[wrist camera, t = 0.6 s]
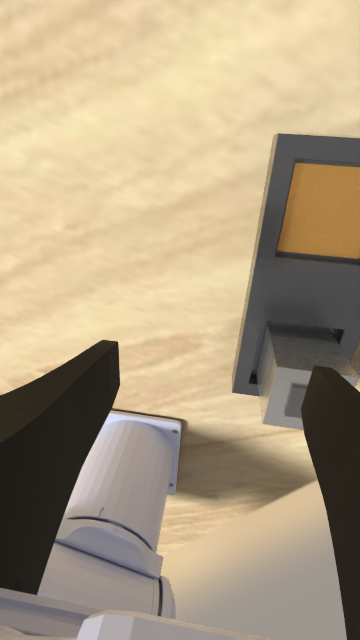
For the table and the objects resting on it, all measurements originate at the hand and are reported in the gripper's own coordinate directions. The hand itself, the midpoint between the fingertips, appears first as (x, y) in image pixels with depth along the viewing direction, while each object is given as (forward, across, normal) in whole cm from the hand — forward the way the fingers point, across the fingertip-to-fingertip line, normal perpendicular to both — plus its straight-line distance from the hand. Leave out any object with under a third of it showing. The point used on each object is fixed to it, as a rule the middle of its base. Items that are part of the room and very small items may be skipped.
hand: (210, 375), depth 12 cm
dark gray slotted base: (+10, -5, 0) cm, 12 cm away
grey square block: (+9, -5, +4) cm, 12 cm away
